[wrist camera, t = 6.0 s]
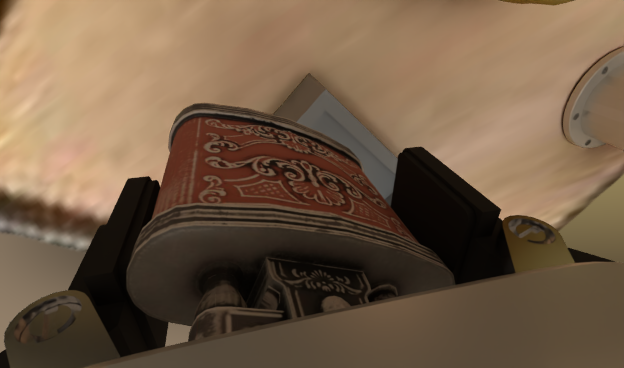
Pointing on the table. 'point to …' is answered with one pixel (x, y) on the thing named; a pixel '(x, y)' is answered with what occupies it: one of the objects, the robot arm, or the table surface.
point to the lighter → (268, 228)
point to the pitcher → (538, 1)
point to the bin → (341, 131)
